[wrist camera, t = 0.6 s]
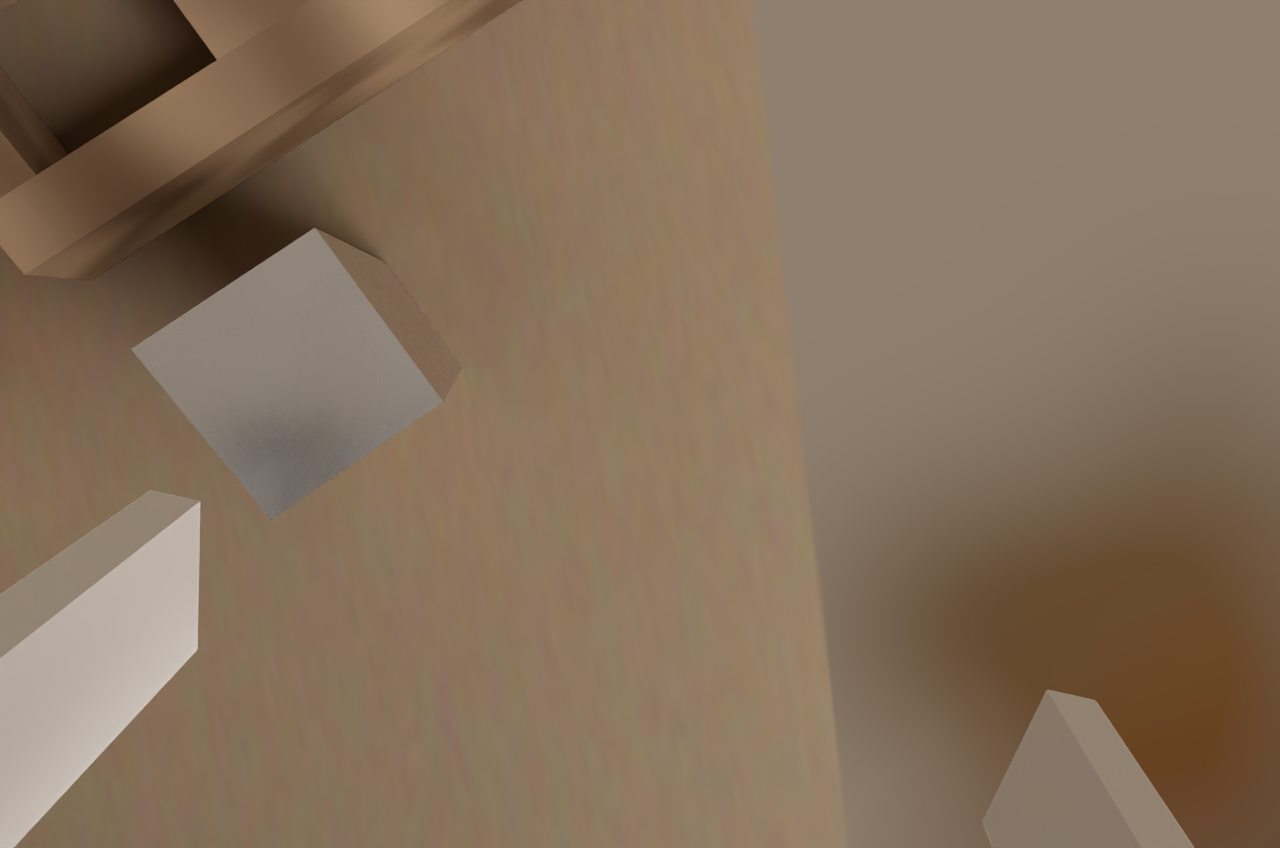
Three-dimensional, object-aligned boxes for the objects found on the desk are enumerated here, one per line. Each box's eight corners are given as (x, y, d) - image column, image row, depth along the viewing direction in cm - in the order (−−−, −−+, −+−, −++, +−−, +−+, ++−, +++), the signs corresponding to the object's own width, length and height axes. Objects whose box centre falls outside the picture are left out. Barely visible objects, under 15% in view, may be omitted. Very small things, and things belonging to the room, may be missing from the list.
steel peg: (358, 439, 30) (270, 519, 18) (278, 335, 29) (130, 348, 17) (462, 367, 30) (443, 401, 18) (385, 262, 29) (314, 227, 17)
